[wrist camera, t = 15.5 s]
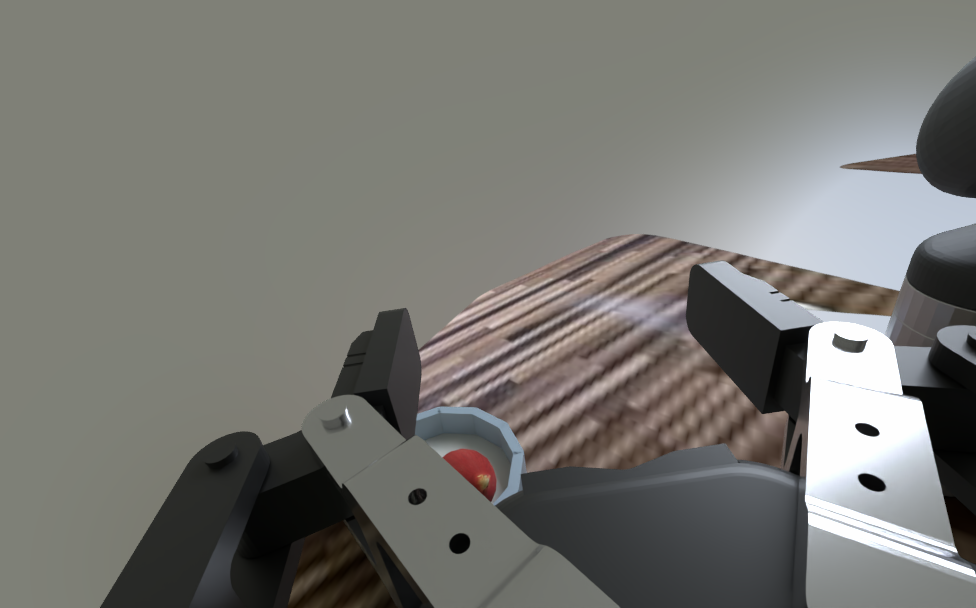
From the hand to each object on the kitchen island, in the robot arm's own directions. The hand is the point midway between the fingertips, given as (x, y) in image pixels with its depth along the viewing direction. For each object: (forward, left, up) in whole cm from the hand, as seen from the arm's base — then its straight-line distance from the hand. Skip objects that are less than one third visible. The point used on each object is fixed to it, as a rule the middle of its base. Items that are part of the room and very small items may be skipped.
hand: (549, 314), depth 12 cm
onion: (+3, -20, -28) cm, 34 cm away
